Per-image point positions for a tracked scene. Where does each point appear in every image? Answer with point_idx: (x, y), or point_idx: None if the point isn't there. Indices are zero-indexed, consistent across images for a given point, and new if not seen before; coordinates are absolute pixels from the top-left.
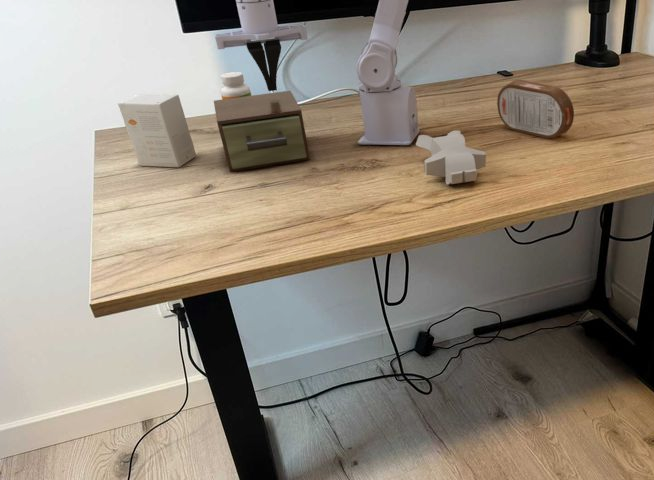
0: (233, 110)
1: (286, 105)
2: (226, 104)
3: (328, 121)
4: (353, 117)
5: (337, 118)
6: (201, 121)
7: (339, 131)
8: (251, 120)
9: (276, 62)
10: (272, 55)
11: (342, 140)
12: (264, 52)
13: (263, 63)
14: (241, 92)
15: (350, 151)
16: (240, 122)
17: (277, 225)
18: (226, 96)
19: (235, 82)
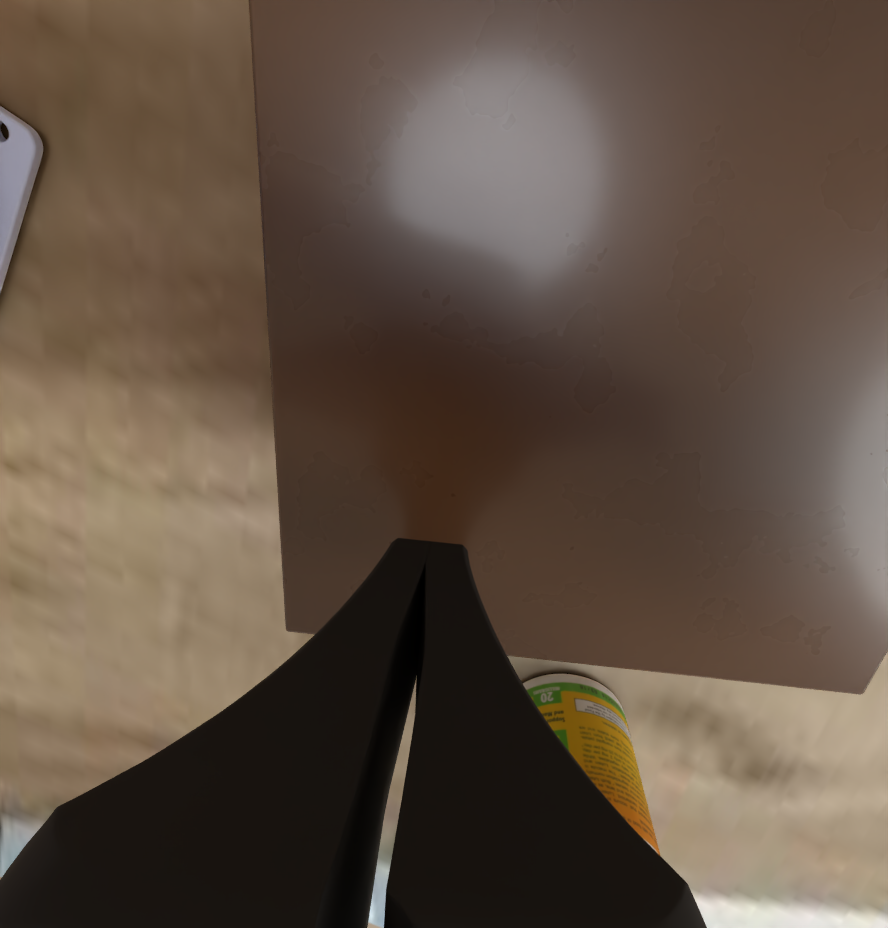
0: (885, 325)
1: (376, 186)
2: (840, 548)
3: (195, 603)
4: (78, 595)
5: (152, 619)
6: (686, 847)
7: (151, 443)
8: None
9: (263, 698)
10: (263, 781)
11: (140, 290)
12: (394, 863)
13: (462, 724)
14: None
15: (98, 41)
16: None
17: None
18: (649, 843)
19: None
